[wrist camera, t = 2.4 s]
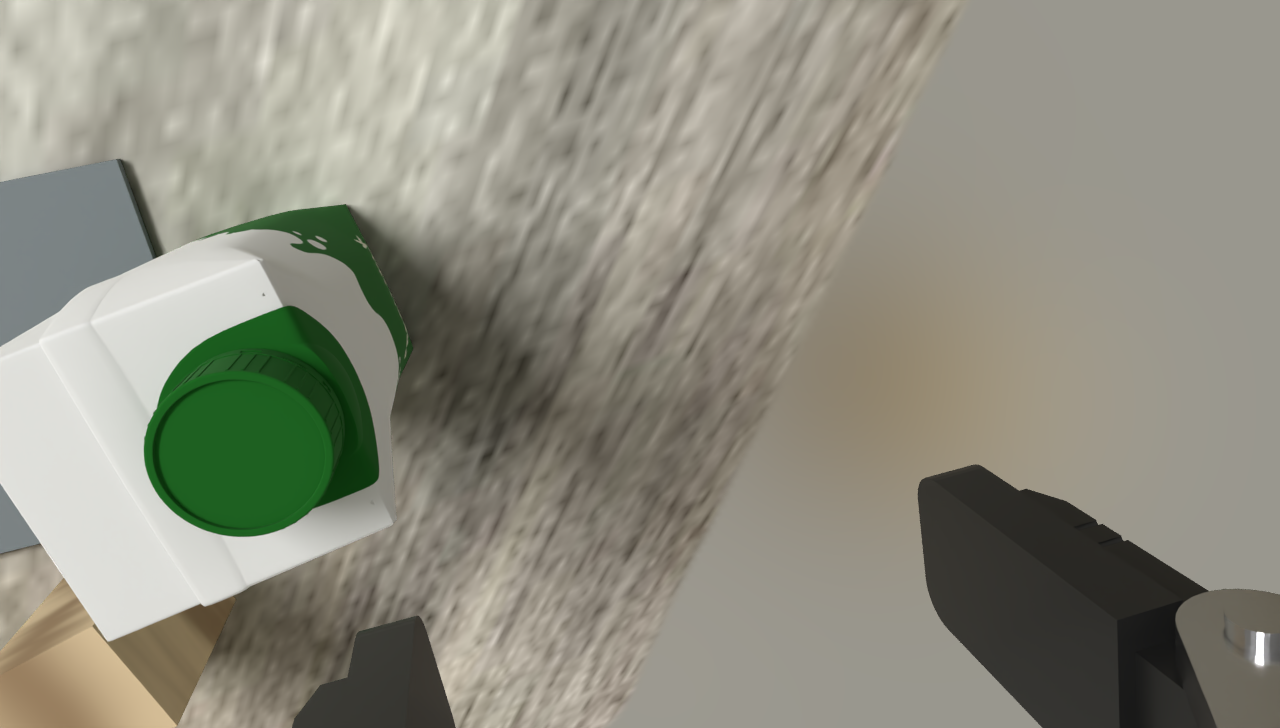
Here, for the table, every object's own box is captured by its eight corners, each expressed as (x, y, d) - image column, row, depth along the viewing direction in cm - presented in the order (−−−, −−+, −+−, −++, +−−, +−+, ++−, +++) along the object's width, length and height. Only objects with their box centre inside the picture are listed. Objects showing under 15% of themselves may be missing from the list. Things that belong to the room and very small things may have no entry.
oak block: (171, 516, 39) (92, 626, 31) (236, 599, 41) (177, 725, 32) (70, 569, 39) (-38, 695, 31) (139, 651, 41) (54, 791, 32)
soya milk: (440, 358, 40) (423, 574, 21) (251, 434, 39) (55, 730, 20) (356, 174, 37) (248, 233, 18) (150, 253, 36) (-187, 399, 17)
